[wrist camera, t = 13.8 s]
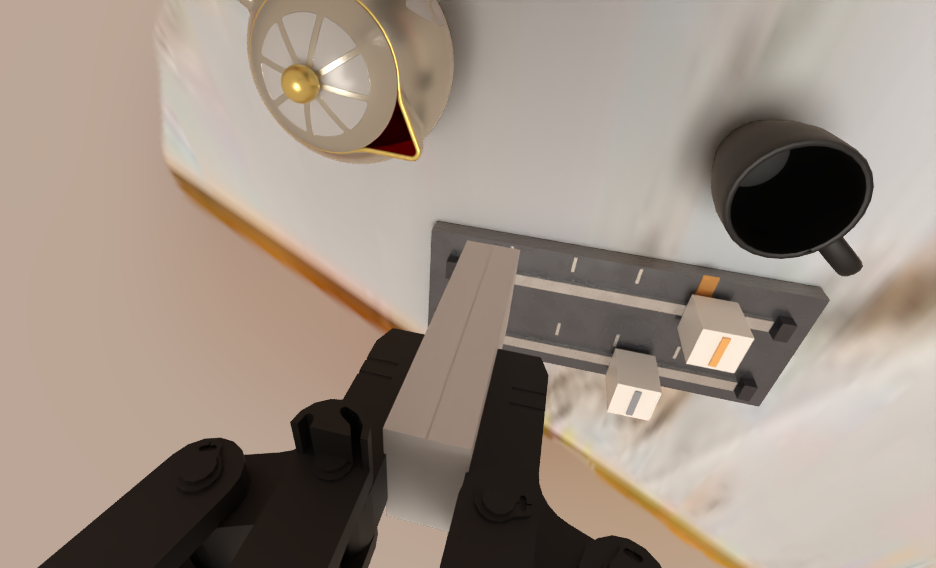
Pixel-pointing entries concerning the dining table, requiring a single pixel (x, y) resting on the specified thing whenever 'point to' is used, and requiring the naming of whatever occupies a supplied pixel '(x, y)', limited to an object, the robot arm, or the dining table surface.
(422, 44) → the teapot
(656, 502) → the dining table surface
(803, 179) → the mug
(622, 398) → the fader
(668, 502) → the dining table surface
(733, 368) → the fader
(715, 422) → the dining table surface
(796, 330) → the console
